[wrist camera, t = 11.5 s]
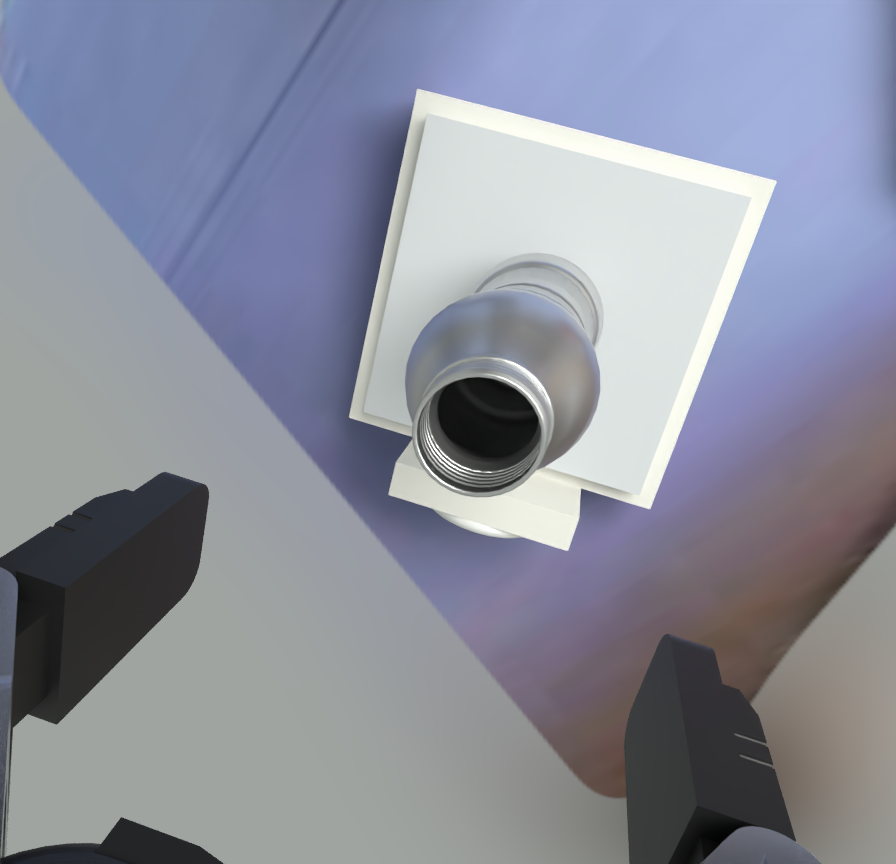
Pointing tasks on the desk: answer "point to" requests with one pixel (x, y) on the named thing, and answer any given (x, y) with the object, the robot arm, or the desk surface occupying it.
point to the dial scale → (584, 244)
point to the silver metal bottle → (506, 376)
